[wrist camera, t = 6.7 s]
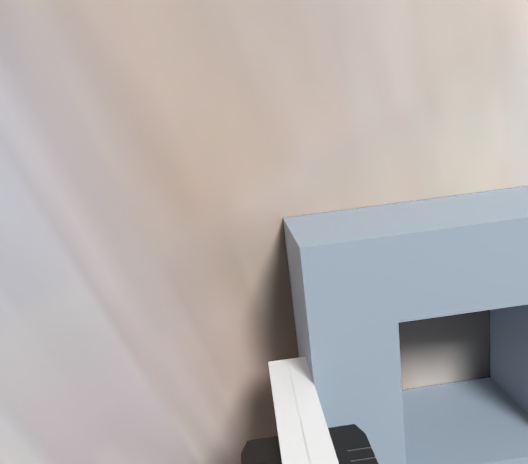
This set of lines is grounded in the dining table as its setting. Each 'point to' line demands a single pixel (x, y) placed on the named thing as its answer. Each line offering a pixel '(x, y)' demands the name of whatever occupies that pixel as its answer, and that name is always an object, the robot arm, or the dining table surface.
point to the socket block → (416, 308)
